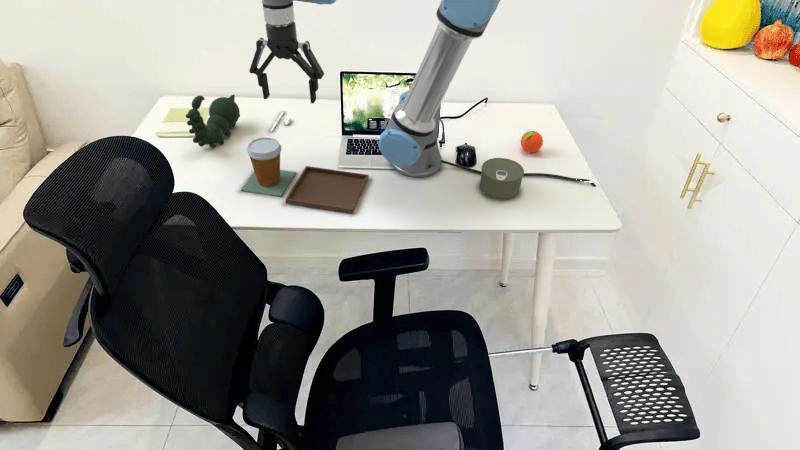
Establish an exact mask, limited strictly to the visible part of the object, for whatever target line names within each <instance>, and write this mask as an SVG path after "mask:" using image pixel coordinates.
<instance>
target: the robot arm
mask: <svg viewBox="0 0 800 450" xmlns="http://www.w3.org/2000/svg"><path fill="white" fill-rule="evenodd" d="M261 1H262V2H261V3H262V10H263V11H262V12H263V19H264V22H265V33H266V37H267V39H264V38H263V37H259V38H258V40H256V42H255V44H256V45H255V46H256V49H255V52H254V56H253V59H252V61H251V64H250V67H249V70H248V71H249V73H250V74H251V75H252V74H254V75H256V78H257V83H258V86H259V87H260V88H261V90H262V96H263V100H267V99H268V98H269V97H270V96H271V94H270V88H269V81H268V74H267V73H268V72H267V73H266V72H265V70H266V69H267V68H268V67H269V65H270V64H271V63H272V61H273V60H274V58H275V57H276V58H277V59H278V60H282V59H284V60H290V59H291V60H292V62H294V63H296V64H297V65H298V67H299V68H300V69H301V70H302V71H303V72H304V73H305V75H307V77H308V78H309V80H308V88H309V98H310V104H313V105H314V104H315V102H316V101H317V92H318V90H319V80H322V79H323V77H324V76H325V72H324V70H323V68H322V67H321V65H320V62H319V61H318V59H317V58H316V55H315V54H314V52H313V51H312V48H311V44H310V41H308V40H306V41H304V42H299V41H298V35H297V25H296V22H295V21H296V18H295V9H294V2H300V3H301V2H303V3H310V4H316V5H333V4H335V3H336V2H337V0H261ZM500 2H501V0H441V1H440V3H439V6H438V8H437V10H436V12H435V16H436V18H437V21H438V25H437V26H436V29H435V31H434V33H433V35H432V38H431V41H430V43H429V45H428V47H427V48H426V52H425V54H424V56H423V58H422V60H421V62H420V64H419V67H418V68H417V69H418V70H417V72H416V74H415V76H414V78H413V81H412V83H411V85H410V87H409V89H408V90H407V91H404V92H402V93H401V94H400V96H399V100H398V103H399V104H397V105H395V107H394V109H393V112H392V113H391V116H390V118H389V120H388V123H387V125H386V127H385V129H384V130H383V131H382V132H381V134H380V135H379V139H378V143H377V144H378V151H380V153H381V156H383V158H384V159H385V160H386V161H388V163H391V166H392V168H393V169H394V170H395V171H396V172H397V173H398V174H401V175H403V176H406V177H411V178H426V177H429V176H430V177H431V176H433V175H435V174H436V173H437V172H439V171H440V169H441V168H442V164H445V165H448V166H451V167H455V168H457V169H461V170H465V171H468V172H472V173H476V174H479V175H481V173H482V170H478V169H474V168H471V167H467V166H463V165H461V164H457V163H454V162H451V161H447V160H443V159H442V155H441V152H440V149H439V145H438V135H439V126H440V125H439V124H440V115H441V114H440V113H441V108H442V107H441V103H442V101H443V100H444V97H445V95H446V93H447V90H449V87H450V85H451V84H452V81H453V80H454V77H455V75H456V73H457V71H458V69H459V68H460V65H461V63H462V62H463V60H464V57H465V56H466V53H467V51H468V50H469V48H470V46H471V43H472V41H473V40H476V39H480V38H481V37H482V36H483V34H484V33H485V31H486V29H487V27H488V25H489V23H490V21H491V19H492V17H493V15H494V13H495V12H496V10H497V8H498V6H499V4H500ZM266 47H267V48H268V49H269V51H270V53H269V55H268V56H266V59H265V60H264V62H263V63H262V64H261V66H260V67H259V64H260V61H261V58H262V56H263V52H264V50H265V48H266ZM299 49H300V50H301V52H303V55H304V57H305V58H306V59H305V58H304V57H303V56H302V54H301V52H300V51H299ZM523 177H547V178H548V177H549V178H556V179H560V180H561V179H562V180H565V181H571V182H581V183H582V182H583V183H585V182H584V181H591V180H590V179H587V178H575V177H570V176H564V175H559V174H554V173H541V172H524V175H523ZM576 179H577V180H576ZM580 180H582V181H580ZM587 184H590V185H591V186H592V187H594V188H596V187H597V185H596V184H595V182H593V183H589V182H587Z"/></svg>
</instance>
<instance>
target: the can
mask: <svg viewBox="0 0 800 450" xmlns="http://www.w3.org/2000/svg"><path fill="white" fill-rule="evenodd" d="M481 171H482V173H481V174H480V181H479V190H480V192H481V193H482V194H483V195H484V196H486V197H487V198H489V199H492V200H496V201H510V200H513V199H515V198H517V197H518V195H519V194H520V190H521V187H522V181H523V177H524V176H523V175H524V173H525V169H524V167H523V166H522V165H521V164H520V163H519V162H518V161H515V160H513V159H510V158H505V157H493V158H489V159H487V160H485V161H484V162H483V163H482V165H481Z"/></svg>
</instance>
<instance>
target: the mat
mask: <svg viewBox="0 0 800 450" xmlns="http://www.w3.org/2000/svg"><path fill="white" fill-rule="evenodd" d="M296 174H297V172H296V171H291V170H290V171H289V170H282V169H280V181H279V183H278V184H276V185H274V186H271V187H264V186H261V185H259V183H258V181H257V178H256V175H255V172H253V173H252V174H251V176H250V177H249V178H248V180H247V181H246V182H245V183H244V185H243V186H242V187H241V188H240V191H241V192H246V193H252V194H259V195H266V196H271V197H277V198H282V196H283V195H284V193H285V192H286V190H287V188H289V186H290V184H291V182H292V181H293V179H294V178H295V176H296Z"/></svg>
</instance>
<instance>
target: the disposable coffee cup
mask: <svg viewBox="0 0 800 450" xmlns="http://www.w3.org/2000/svg"><path fill="white" fill-rule="evenodd" d="M281 151H282V145H281V143H280V142H279V140H277V139H276V138H274V137H268V136H263V137H257V138H255V139H252V140H251V141H249V143H248V144H247V147H246V154H247V155H248V157H249V160H250V162H251V165H252V168H253V171H254V172H255V175H256V178H257V181H258V183H259V185H261V186H264V187H271V186H274V185H276V184H278V183H279V181H280V170H281ZM254 172H253V173H254Z"/></svg>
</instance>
